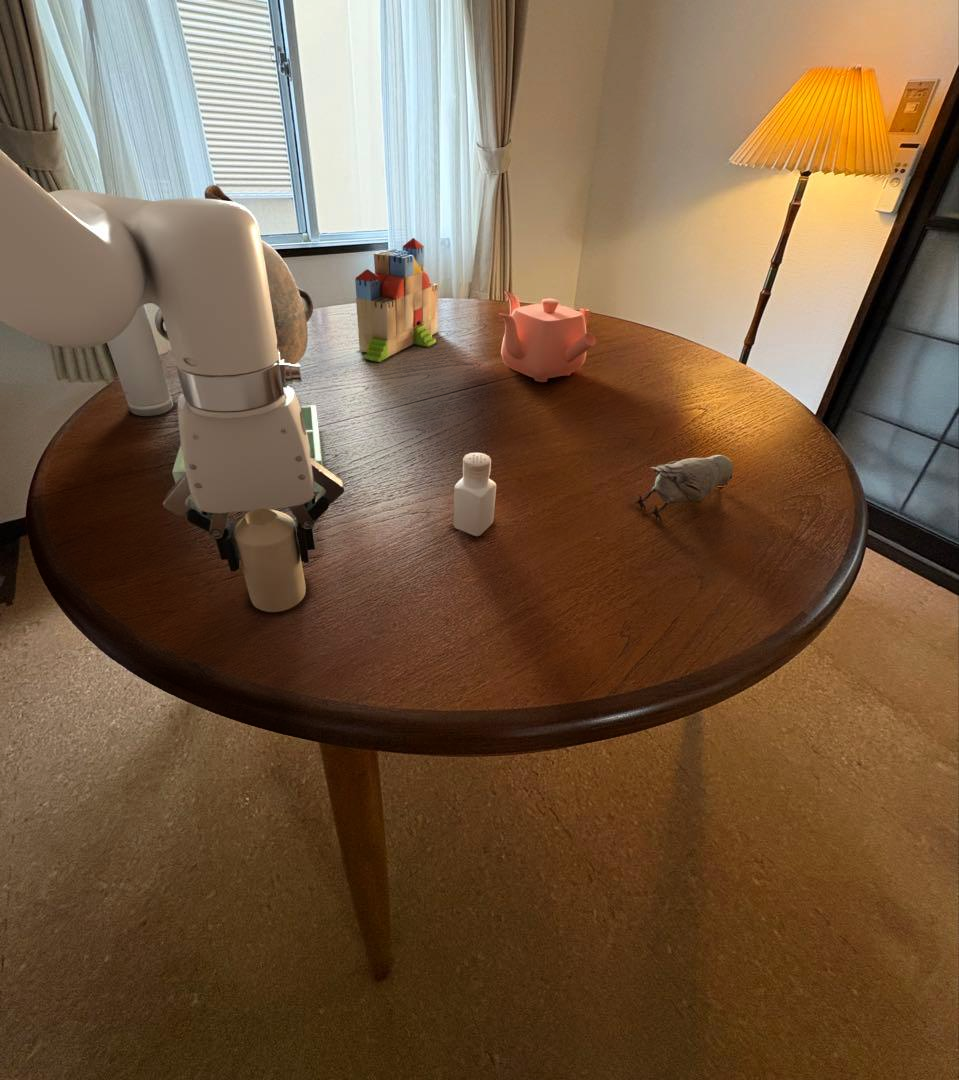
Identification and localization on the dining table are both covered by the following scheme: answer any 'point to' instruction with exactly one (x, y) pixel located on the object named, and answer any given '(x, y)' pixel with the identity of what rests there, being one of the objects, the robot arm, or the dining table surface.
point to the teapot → (545, 338)
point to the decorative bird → (689, 480)
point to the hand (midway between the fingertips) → (270, 557)
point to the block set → (396, 303)
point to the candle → (270, 559)
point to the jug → (275, 300)
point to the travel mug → (140, 367)
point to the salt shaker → (474, 495)
